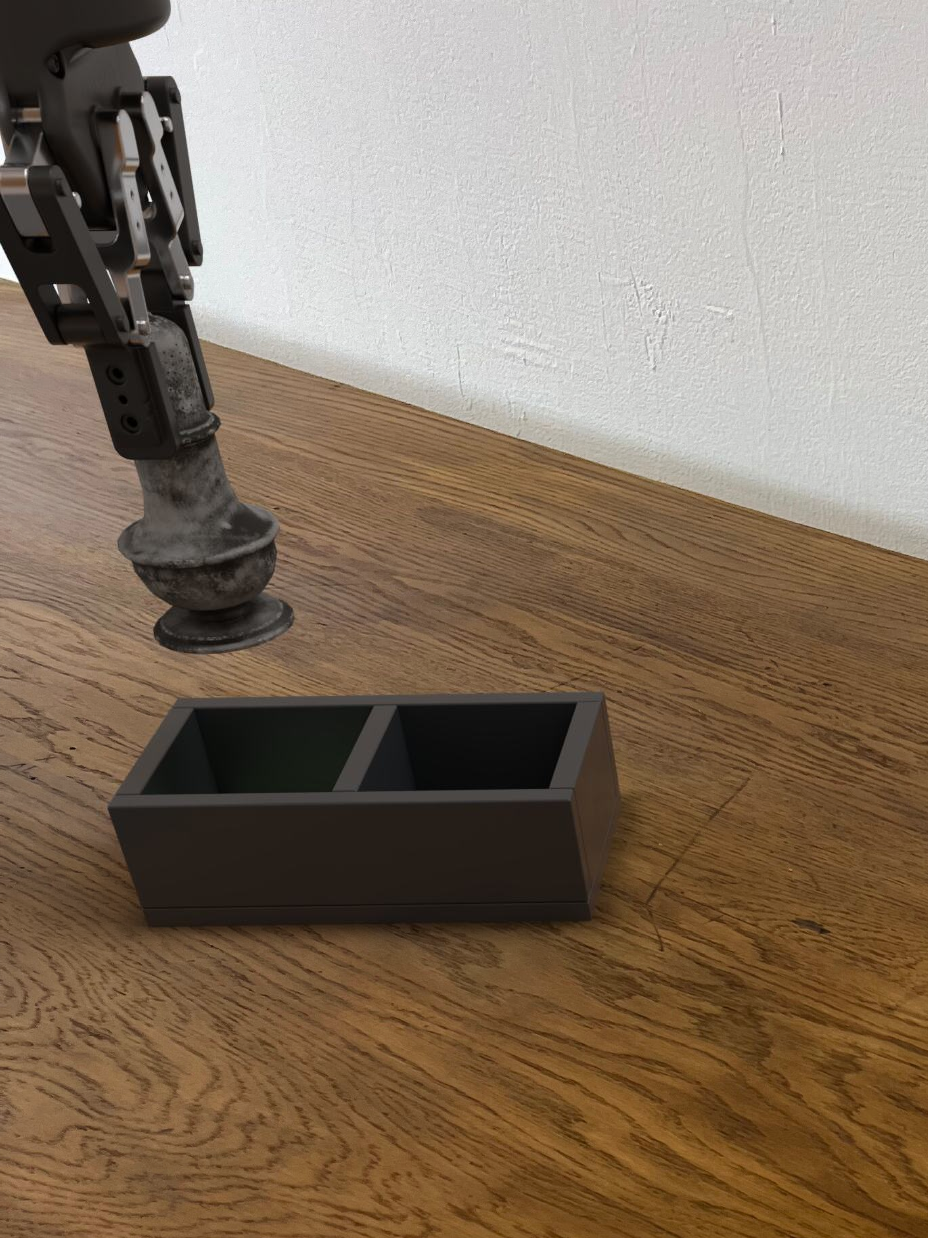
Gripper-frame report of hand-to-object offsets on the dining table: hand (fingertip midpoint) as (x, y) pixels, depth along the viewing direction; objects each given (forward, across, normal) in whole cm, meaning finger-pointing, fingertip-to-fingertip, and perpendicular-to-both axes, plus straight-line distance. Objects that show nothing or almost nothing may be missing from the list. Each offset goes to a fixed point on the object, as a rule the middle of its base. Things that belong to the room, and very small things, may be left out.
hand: (168, 432), depth 75 cm
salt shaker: (+7, 0, 0) cm, 7 cm away
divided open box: (+18, 0, +4) cm, 18 cm away
